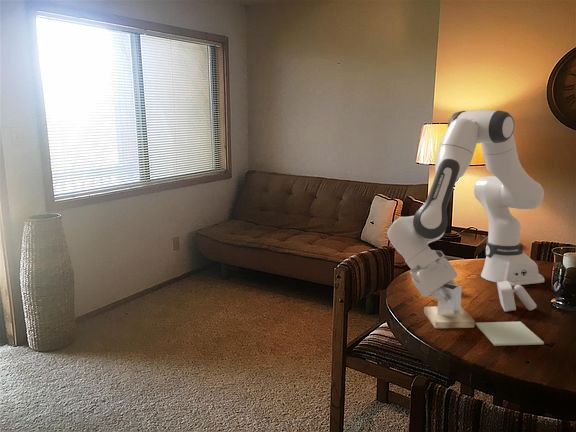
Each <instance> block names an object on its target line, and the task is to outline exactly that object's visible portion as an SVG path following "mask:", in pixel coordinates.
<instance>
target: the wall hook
mask: <svg viewBox="0 0 576 432" xmlns="http://www.w3.org/2000/svg"><path fill="white" fill-rule="evenodd" d="M496 286H497V287H496V288H497V292H498V297H499V302H500V305H501V308H502V309H503V311H504V312H505V313H506V312H513V311H516V310H517V306H516V301H515V295H516V296H517V298H519V300H520V301H521V303H522V304H523V305H524V306H525V308H526V309H527V310H528V311H533V310H535V309H536V308H537V304H536V302H535V301H534V299H532V297H531V296H530V294H529V293H528V292H527V290H526V289H525V287H524V286H522V285H515V286H511V285H510V284H509V282H508V281H503V282H496ZM514 293H515V294H514Z"/></svg>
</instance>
